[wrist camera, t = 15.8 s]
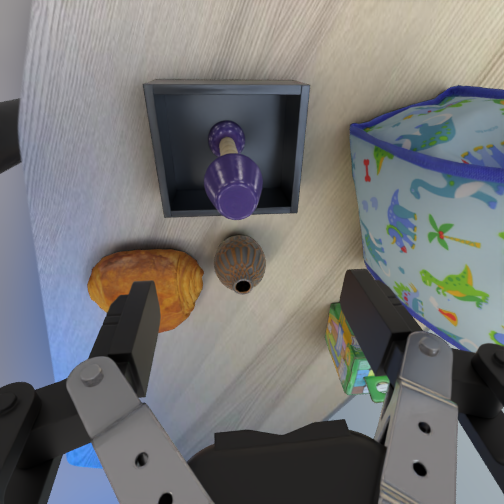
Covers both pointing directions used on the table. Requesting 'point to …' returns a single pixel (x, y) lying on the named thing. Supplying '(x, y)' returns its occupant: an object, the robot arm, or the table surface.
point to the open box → (242, 113)
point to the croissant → (150, 268)
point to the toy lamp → (232, 173)
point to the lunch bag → (437, 210)
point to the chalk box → (351, 359)
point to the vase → (240, 263)
